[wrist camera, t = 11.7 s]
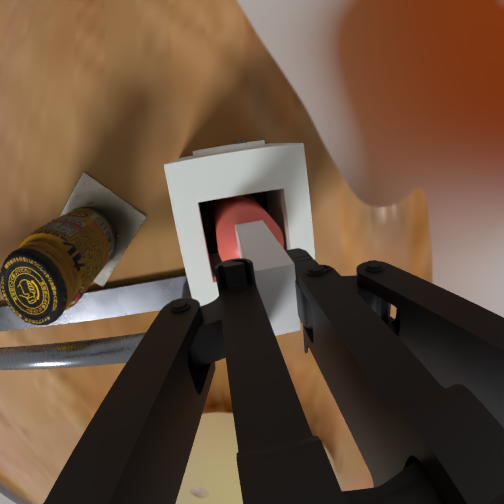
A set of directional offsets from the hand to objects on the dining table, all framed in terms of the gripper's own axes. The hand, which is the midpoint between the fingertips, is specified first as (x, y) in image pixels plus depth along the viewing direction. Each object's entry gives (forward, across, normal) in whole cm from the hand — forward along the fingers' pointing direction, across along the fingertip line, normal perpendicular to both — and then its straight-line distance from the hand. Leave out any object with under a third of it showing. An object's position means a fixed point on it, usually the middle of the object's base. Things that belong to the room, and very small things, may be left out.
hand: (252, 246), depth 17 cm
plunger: (+9, 0, 0) cm, 9 cm away
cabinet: (+12, 0, 0) cm, 12 cm away
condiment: (+12, -13, 0) cm, 18 cm away
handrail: (+12, -18, -7) cm, 23 cm away
